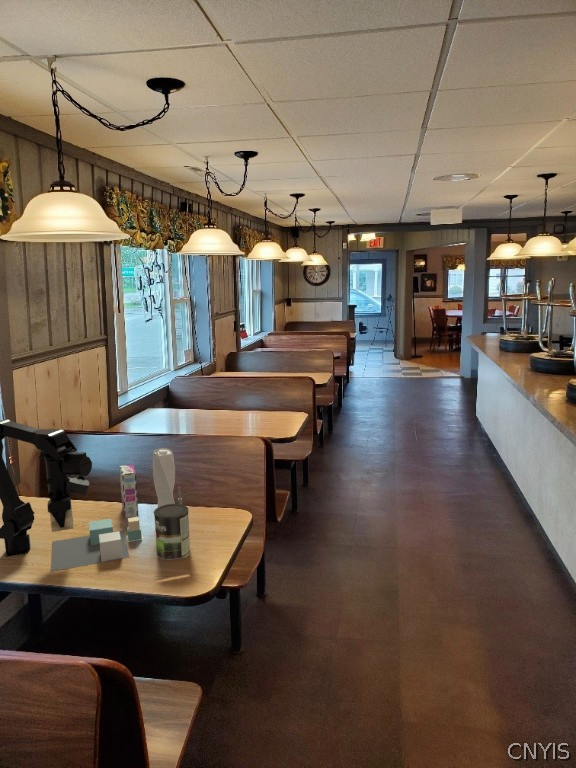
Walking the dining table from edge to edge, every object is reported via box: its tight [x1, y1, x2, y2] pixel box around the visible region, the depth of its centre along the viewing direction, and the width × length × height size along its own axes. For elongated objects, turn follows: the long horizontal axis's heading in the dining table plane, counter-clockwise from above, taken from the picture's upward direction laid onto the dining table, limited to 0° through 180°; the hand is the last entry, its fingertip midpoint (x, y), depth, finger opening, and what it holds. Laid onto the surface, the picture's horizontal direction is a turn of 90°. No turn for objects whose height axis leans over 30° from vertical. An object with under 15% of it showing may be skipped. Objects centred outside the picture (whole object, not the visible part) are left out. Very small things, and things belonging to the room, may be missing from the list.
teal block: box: [88, 518, 114, 545], centre depth 188 cm, size 7×7×5 cm
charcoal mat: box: [50, 529, 130, 572], centre depth 182 cm, size 22×21×1 cm
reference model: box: [125, 516, 144, 543], centre depth 189 cm, size 5×5×7 cm
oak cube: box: [49, 501, 74, 533], centre depth 174 cm, size 6×6×6 cm
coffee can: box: [153, 503, 191, 561], centre depth 178 cm, size 10×10×14 cm
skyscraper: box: [152, 447, 183, 508], centre depth 198 cm, size 8×8×28 cm
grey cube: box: [99, 530, 122, 562], centre depth 177 cm, size 6×6×6 cm
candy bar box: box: [119, 464, 139, 519], centre depth 210 cm, size 11×5×16 cm, turn 21°
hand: (62, 523), depth 175 cm, fingers closed on oak cube, 6 cm apart
